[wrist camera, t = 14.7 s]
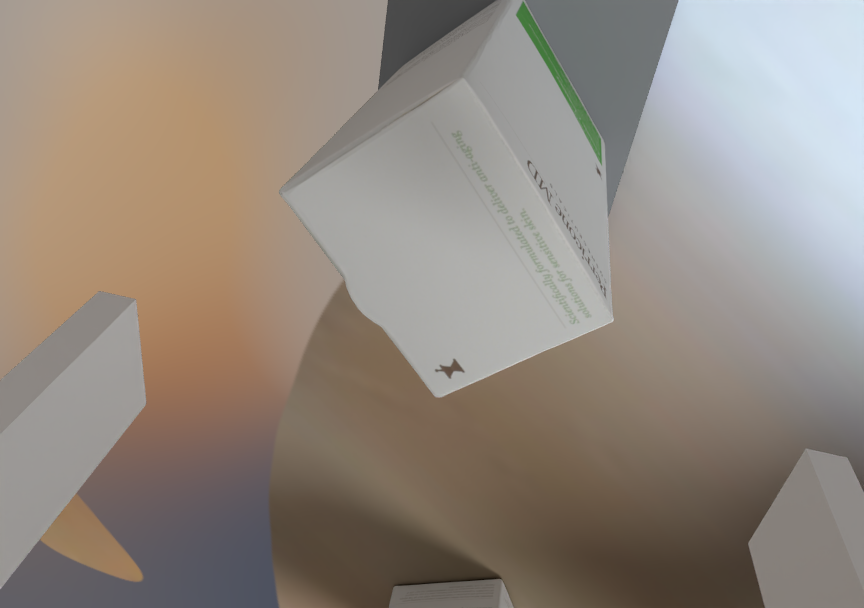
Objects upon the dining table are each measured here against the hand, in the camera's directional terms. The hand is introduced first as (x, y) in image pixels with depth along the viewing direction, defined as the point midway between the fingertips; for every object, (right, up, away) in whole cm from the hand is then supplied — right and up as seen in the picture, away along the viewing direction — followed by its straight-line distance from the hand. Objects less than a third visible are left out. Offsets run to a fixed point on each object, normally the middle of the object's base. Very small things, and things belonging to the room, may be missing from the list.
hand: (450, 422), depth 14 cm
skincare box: (+3, +12, +18) cm, 22 cm away
